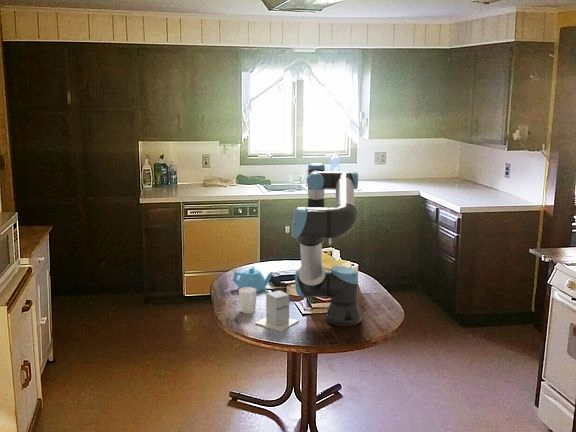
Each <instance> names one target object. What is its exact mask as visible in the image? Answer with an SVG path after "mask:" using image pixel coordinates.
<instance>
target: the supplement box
mask: <svg viewBox="0 0 576 432" xmlns="http://www.w3.org/2000/svg"><path fill="white" fill-rule="evenodd" d="M265 299H266V300H265V301H266V303H265V304H266V305H265V307H266V309H265V311H266V312H265V314H266V315H265V317H266V321H268V322H269V323H271V324H273V325H275V326H277V325H280V324H283V323H287V322H289V318H290V294H289V293H286V292H285V291H282V290H276V291H275V290H274V291H272V292H268V293H266V296H265Z"/></svg>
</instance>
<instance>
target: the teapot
mask: <svg viewBox="0 0 576 432" xmlns="http://www.w3.org/2000/svg"><path fill="white" fill-rule="evenodd" d="M272 275H273V273H272V272H269V273H268V275H266V277H264V275H263V273H262V272H261V271H260V270H258V269H255V267H254V266H251V267H249V268H248V269H245V270H244V271H243V272H241V271H237V270H235V272H234V275H233V277H232V280H231V281H232V282H233V283H234V284H235V285H236V286H237V288H238V290H239V289H240V288H244V287H252V288H255V289H256V293H261V292H262V291H264V289H265V288H266V287H267V285H268V283H269V282H270V280H271V277H272ZM238 276H239V278H238Z"/></svg>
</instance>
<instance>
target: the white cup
mask: <svg viewBox="0 0 576 432" xmlns="http://www.w3.org/2000/svg"><path fill="white" fill-rule="evenodd" d="M238 299H239V310H240V312H241V313H242V312H243V313H242V314H252V313H255V312H256V305H257V292H256V289H255V288H252V287H244V288H240V289H239V288H238Z"/></svg>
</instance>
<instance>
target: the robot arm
mask: <svg viewBox="0 0 576 432" xmlns="http://www.w3.org/2000/svg"><path fill="white" fill-rule="evenodd" d="M307 166H308V167H307V168H308V169H307V176H306V184H307V197H308V198H307V206H301V207H299V206H298V207H296V208H295V209H294V210H293V216H292V223H291V225H292V226H291V237H292V238H294V239H296V241H297V242H298V243H299V245H300V246H299V247H300V249H299V250H300V264H301V265H300V268H299V269H296V270H295V274H294V283H295V291H296V294H297V295H298V297H304V298H330V303H329V306H328V309H327V311H326V314H325V320H326V322H327V323H329V324H330V325H333V326H336V327H337V326H338V327H353V326H356V325H359V324H360V323H362V315H361V312H360V308H359V307H360V306H359V305H358V292H359V291H358V290H359V289H358V287H359V285H358V284H359V277H358V276H359V274H358V272H357V270H355V269H353V268H351V267H349V266H343V265H334V266H332V267H331V269H329V270H327V269H325V267H324V266H323V252H322V251H323V245H322V244H323V242H324V240H325V239H328V245H329V246H331V244H332V239H338V238H341V237H343V236H345V235H347V234H348V233H350V232H351V230H352V229H353V228H354V227H355V225H356V223H357V221H358V210H357V207H355V190H357V189H358V187H359V174H358V173H357V171H356V172H355V171H353V172H352V171H326V170H325V169H326V166H325V164H324V163H320V162H319V163H314V162H313V163H309V164H308V165H307ZM325 190H335V201H334V202H335V203H334V207H325Z"/></svg>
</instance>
